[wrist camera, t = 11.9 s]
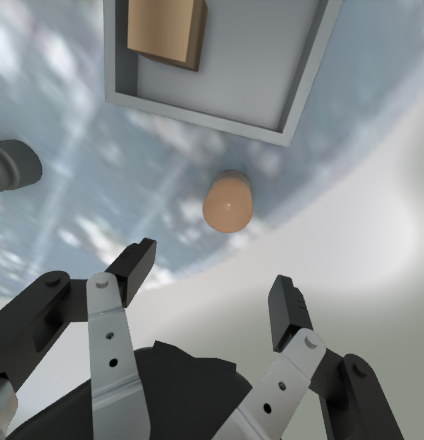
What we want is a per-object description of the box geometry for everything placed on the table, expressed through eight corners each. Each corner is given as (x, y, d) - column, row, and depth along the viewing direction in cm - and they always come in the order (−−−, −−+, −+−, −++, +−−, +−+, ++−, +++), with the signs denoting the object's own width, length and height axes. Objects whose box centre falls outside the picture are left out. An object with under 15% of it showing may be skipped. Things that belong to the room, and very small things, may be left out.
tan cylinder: (217, 165, 27) (207, 181, 20) (256, 175, 26) (258, 194, 20) (209, 201, 29) (198, 225, 23) (244, 211, 29) (244, 238, 23)
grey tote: (136, -78, 18) (100, -138, 14) (342, -33, 18) (374, -81, 13) (130, 103, 25) (105, 101, 21) (281, 141, 24) (288, 147, 20)
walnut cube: (208, 8, 20) (196, -22, 15) (197, 72, 22) (185, 62, 18) (156, -5, 20) (129, -38, 15) (151, 60, 22) (127, 47, 18)
